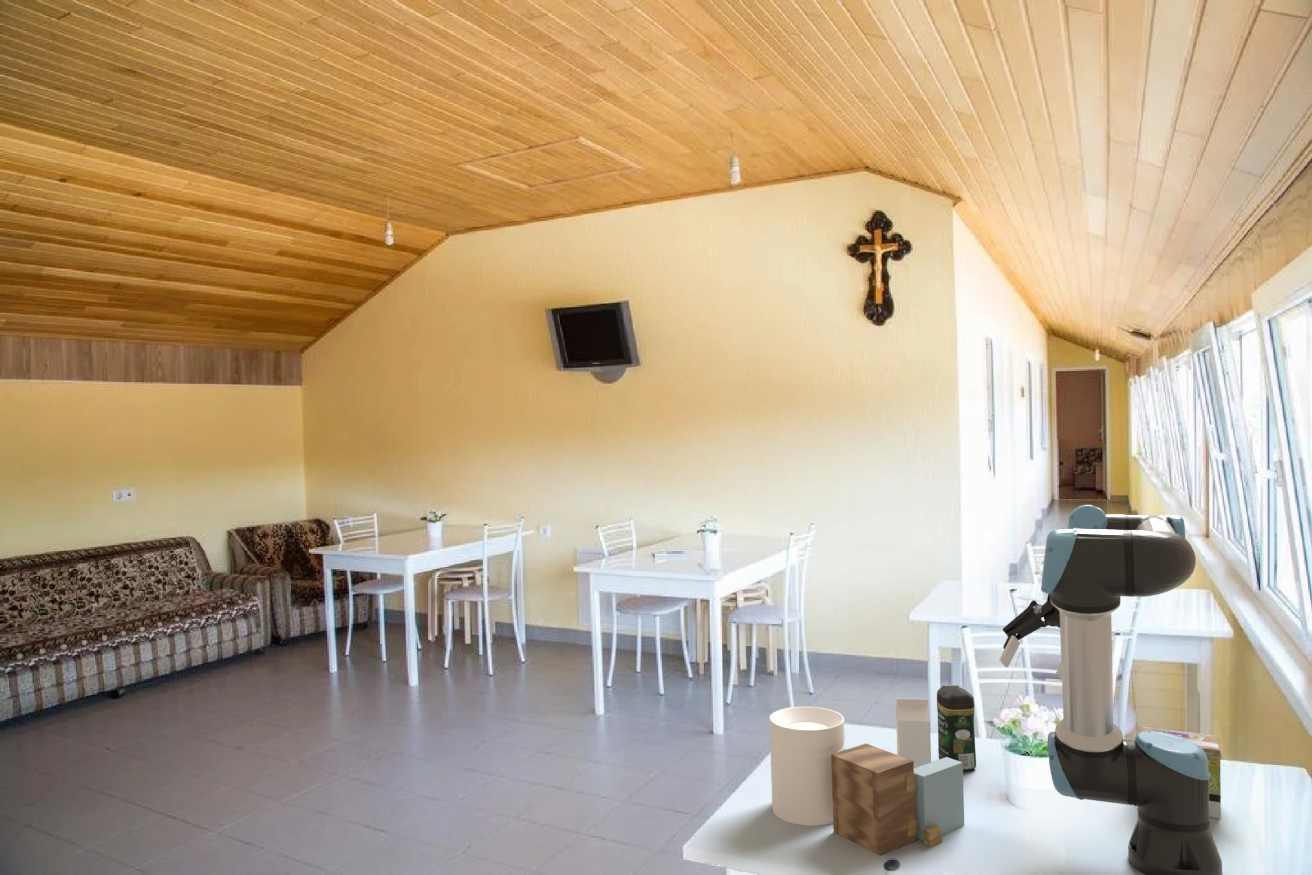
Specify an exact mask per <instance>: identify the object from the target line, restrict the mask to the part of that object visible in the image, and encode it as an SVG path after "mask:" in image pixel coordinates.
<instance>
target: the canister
mask: <svg viewBox="0 0 1312 875" xmlns="http://www.w3.org/2000/svg"><path fill="white" fill-rule="evenodd" d="M845 729H846V728H845V718H844V716H843V715H842V714H841V713H840V712H838V711H835V710H833V709H830V708H825V707H818V706H793V707H791V706H790V707H785V708H781V709H778V710H775V711H774V712H772V713H771V714H770V715H769V736H770V741H769V742H770V771H771V772H770V773H771V774H770V775H771V776H770V777H771V778H770V779H771V807H772V808H771V809H772V813H773V814H774V815H775V816H776V817H777V818H779V819H780V820H782V821H784V822H786V823H790V824H792V825H793V824H794V825H800V826H806V827H807V826H809V827H814V826H815V827H817V826H818V827H819V826H826V825H833V796H832V763H831V754H833V753H837V752H840V751H843V750H846V744H845V740H846V738H845V737H846V734H845V732H846V731H845Z"/></svg>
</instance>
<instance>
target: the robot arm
mask: <svg viewBox="0 0 1312 875" xmlns="http://www.w3.org/2000/svg"><path fill="white" fill-rule="evenodd" d="M1045 542H1046V543H1045V549H1044V550H1045V551H1044V558H1043V566H1042V568H1043V570H1042V574H1041V585H1040V591H1041V592H1042V593H1045V594H1046V595H1047V597H1046V598H1047V599H1046V602H1045V603H1043V604H1041V603H1038V602H1037V601H1036V600H1032V601H1031V602H1030V603H1029V604H1028V606H1027V607H1026V608H1025V609H1024V610H1023V611H1022V612H1020V613H1019V614H1018V615H1017V616H1016V617H1015V618H1013V620H1011V621H1009V623H1008V624H1006V625H1005V626H1004V627H1003V629H1002V632H1004V634H1005V635H1006V636H1007V638H1006V640H1005V643H1003V649H1004V650H1003V651H1002V654H1001V656H1000V657H999V659H998V660H999V662H1001V664H1002V665H1003V666H1004V667H1005V668H1009V666H1010V664H1011V662H1012V661H1013V658H1014V656H1015V654H1016V652H1017V651H1018V648H1019V647H1020V645H1021V642H1020V640H1021V639H1024V638H1025V637H1027V636H1029V635H1030V634H1032V633H1034V632H1036V631H1037V630H1039V629H1042V628H1046V627H1048V626H1049V627H1052V628H1053V627H1057V628H1058V629H1059V632H1060V659H1061V660H1060V661H1061V662H1060V664H1059V665H1058V668H1057V670H1056V672H1055V673H1056V675H1057V676H1058V678H1059V679H1060V680H1061V686H1062V693H1061V694H1062V717H1063V718H1061V720H1059V721H1058V722H1057V723H1056V725H1055V729H1054V731H1050V732H1049V733H1048V735H1047V753H1048V762H1049V770H1050V775H1051V780H1052V783H1053V784H1052V785H1053V787H1054V789H1055V790H1056V791H1057V792H1058V794H1060V795H1061V796H1064V797H1070V798H1075V799H1078V800H1080V801H1083V800H1087V801H1095V802H1103V803H1113V804H1119V805H1127V806H1133V807H1134V806H1135V807H1137V819H1136V823H1135V825H1134V828H1133V831H1132V833H1131V837H1130V839H1129V841H1128V844H1127V845H1128V846H1127V857H1128V861H1129V862H1130V863H1131V865H1132V866H1133V867H1134V868H1136V869H1137V870H1138V871H1140V872H1141V873H1144V874H1146V875H1223V861H1222V858H1221V856H1220V853H1219V850H1218V846H1217V845H1216V841H1215V839H1214V836H1213V834H1212V831H1211V824H1210V821H1211V820H1210V819H1211V818H1210V813H1209V784H1208V780H1209V779H1210V774H1209V772H1208V759H1207V756H1206V753H1205V752H1204V751H1203V750H1202V749H1201V748H1200V747H1199V746H1198V745H1196V744H1194V743H1193V742H1191V741H1189V740H1186V739H1184V738H1181V737H1178V736H1175V735H1171V734H1167V733H1162V732H1155V731H1149V732H1146V731H1143V732H1139V731H1138V732H1137V734H1136V735H1135V737H1134V740H1131V739H1124V735H1123V734H1124V733H1123V732H1122V730H1121V729H1120V727H1118V726H1117V725H1116V724H1115V722H1114V720H1115V719H1114V678H1113V639H1112V637H1113V636H1112V632H1113V630H1112V629H1113V628H1112V626H1113V625H1112V613H1114V612H1115V611H1117V610H1118V609H1119V607H1120V606H1121V597H1130V598H1131V597H1134V598H1135V597H1139V598H1143V597H1145V598H1146V597H1152V596H1157V595H1161V594H1164V593H1167V592H1170V591H1172V590H1174V589H1177V588H1179V587H1180V586H1182V585H1183V584H1184V583H1186V582H1187V581H1188V579H1189V578H1191V577H1192V574H1193V573H1194V571H1195V568H1196V565H1197V564H1196V563H1197V558H1196V557H1197V556H1196V553H1195V550H1194V548H1193V546H1192V545H1191V543H1190V542H1189V540H1187V539H1186V527H1185V520H1184V518H1183V517H1182V516H1179V515H1171V514H1170V515H1169V514H1155V515H1154V514H1136V515H1135V514H1106V513H1105V511H1104V510H1103V509H1101V508H1100V507H1098V506H1094V505H1092V504H1083V505H1079V506H1078V507H1076V508H1074V509H1073V510H1072V511H1071V513H1070V514H1069V516H1068V525H1067V528H1065V529H1063V528H1061V529H1053V530H1051V531H1049V533H1048V534H1047V536H1046V541H1045Z"/></svg>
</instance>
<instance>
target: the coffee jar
mask: <svg viewBox="0 0 1312 875" xmlns="http://www.w3.org/2000/svg"><path fill="white" fill-rule="evenodd" d="M936 709H937V711H936V712H937V734H938V735H937V736H938V737H937V738H938V740H937V741H938V742H937V743H938V744H937V748H938V750H937V752H938V760H940V759H943V758H945V757H948V758H951V759H954V760H957V761H960V762H962V763H963V772H969V771H972V770H975V769H977V768H976V767H977V753H976V738H975V737H976V735H975V700H974V696H973V695H972V694H971V693H970V692H969V691H968V690H966V689H964V688H962V687H960V686H959V685H956V684H955V685H942V686H941V687H939V689H938V690H937V692H936Z"/></svg>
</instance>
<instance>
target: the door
mask: <svg viewBox="0 0 1312 875" xmlns="http://www.w3.org/2000/svg"><path fill="white" fill-rule="evenodd" d="M914 774H915V789H914V797H915V819H916V826H917V834H916V839H918V840H921V841H923V842H924V830H923V829H926V828H928V827H931V826H933V825H937V826H939V827H941V829H942V835H944V834H947V833H949V832H951V831H954V830H956V829H959V828H961V827H964V826H965V803H964V802H965V799H964V797H965V796H964V795H965V794H964V771H963V763H962V762H960V761H957V760H954V759H951V758H948V757H945V758H943V759H940V760H939V759H937V760H935V761H931V763H928V764H925V765H923V766H920V767H917V768H914Z"/></svg>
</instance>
